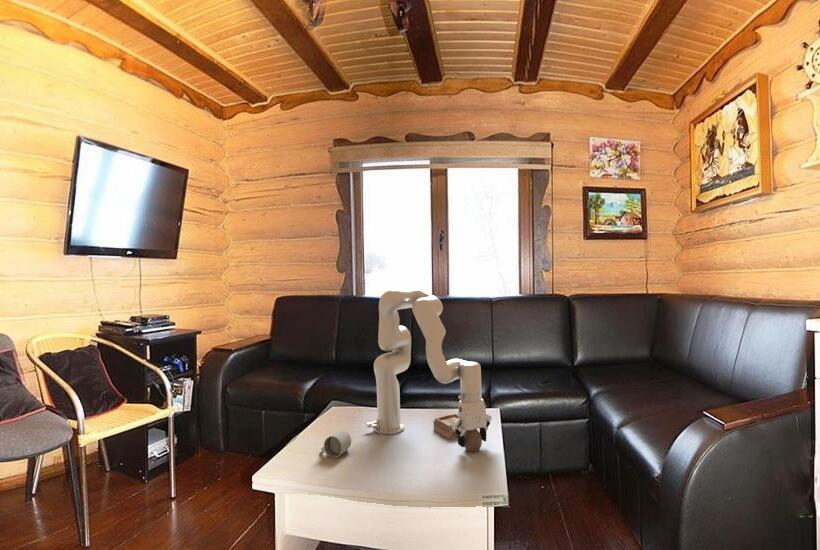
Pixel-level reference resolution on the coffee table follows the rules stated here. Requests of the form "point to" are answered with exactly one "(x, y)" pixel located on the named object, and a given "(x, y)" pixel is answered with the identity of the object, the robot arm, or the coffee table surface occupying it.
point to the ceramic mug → (337, 444)
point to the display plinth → (446, 425)
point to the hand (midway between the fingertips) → (472, 442)
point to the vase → (472, 440)
